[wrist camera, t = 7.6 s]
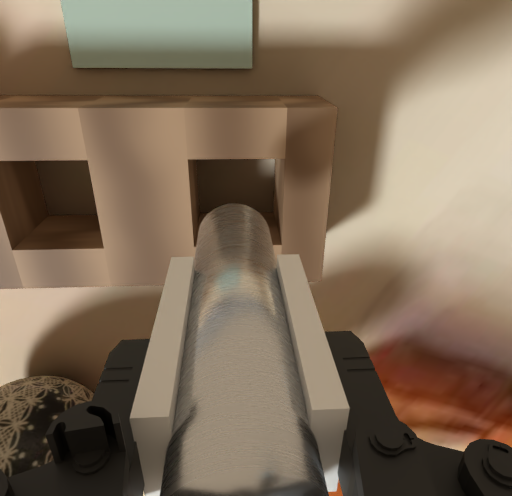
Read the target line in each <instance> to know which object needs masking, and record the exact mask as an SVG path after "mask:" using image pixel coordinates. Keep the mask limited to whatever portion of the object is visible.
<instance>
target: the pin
mask: <svg viewBox="0 0 512 496" xmlns="http://www.w3.org/2000/svg"><path fill="white" fill-rule="evenodd" d="M194 264H195V274H194V282H193V289H192V296H191V303H190V310H189V317H188V324H187V331H186V339H185V346H184V353H183V360H182V367H181V374H180V381H179V388H178V396H177V403H176V410H175V417H174V424H173V431H172V438H171V439H170V441H169V443H168V446H167V450H166V456H165V463H164V470H163V476H162V483H161V490H160V496H329V494H328V490H327V486H326V481H325V477H324V472H323V468H322V463H321V459H320V454H319V450H318V445H317V441H316V438H315V436H314V434H313V432H312V431H311V429H310V424H309V420H308V415H307V410H306V406H305V401H304V396H303V392H302V387H301V382H300V378H299V373H298V368H297V363H296V359H295V354H294V349H293V345H292V340H291V335H290V331H289V326H288V321H287V317H286V312H285V307H284V302H283V298H282V293H281V288H280V284H279V279H278V274H277V270H276V268H277V262H276V258H275V253H274V249H273V244H272V240H271V235H270V231H269V227H268V224H267V222H266V220H265V219H264V217H263V216H262V215H261V214H260V213H259V212H258V211H256V210H255V209H253V208H251V207H249V206H246V205H243V204H226V205H222V206H219V207H217V208H215V209H213V210H212V211H211V212H209V213H208V214H207V215H206V216H205V218H204V219H203V221H202V222H201V224H200V227H199V232H198V238H197V245H196V252H195V259H194Z"/></svg>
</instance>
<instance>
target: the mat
mask: <svg viewBox="0 0 512 496" xmlns="http://www.w3.org/2000/svg"><path fill="white" fill-rule="evenodd" d="M61 6H62V11H63V17H64V22H65V27H66V33H67V38H68V44H69V49H70V55H71V60H72V65H73V68H252V0H61Z"/></svg>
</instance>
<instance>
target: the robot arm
mask: <svg viewBox="0 0 512 496" xmlns="http://www.w3.org/2000/svg"><path fill="white" fill-rule="evenodd" d="M276 270H277V274H278V279H279V284H280V288H281V293H282V298H283V302H284V307H285V312H286V317H287V321H288V326H289V331H290V335H291V340H292V345H293V349H294V354H295V359H296V363H297V368H298V373H299V378H300V382H301V387H302V392H303V396H304V401H305V406H306V410H307V415H308V420H309V424H310V429H311V431H312V432H313V434H314V436H315V438H316V441H317V445H318V450H319V454H320V459H321V463H322V468H323V472H324V477H325V481H326V486H327V490H328V492H330V491H336V490H337V484H338V478H339V481H340V485H341V489H342V493H343V496H512V448H511V447H510V446H508V445H507V444H504V443H501V442H498V441H495V440H487V439H479V440H476V441H474V442H471V443H469V445H468V446H467V448H466V449H465V451H464V452H462V451H458V450H454V449H450V448H446V447H442V446H437V445H434V444H431V443H428V442H425V441H423V440H421V439H419V438H417V436H416V434H415V433H414V432H413V431H412V430H411V429H410V428H409V427H408V426H407V425H406V424H404V423H402V422H400V421H399V420H398V418H397V417H396V415H395V413H394V410H393V408H392V406H391V404H390V401H389V399H388V397H387V395H386V392H385V390H384V388H383V386H382V384H381V381H380V379H379V377H378V375H377V372H376V371H375V368H374V366H373V363H372V361H371V360H370V357H369V354H368V352H367V350H366V348H365V346H364V343H363V342H362V341H361V340H360V339H359V338H358V337H357V336H356V335H354V334H353V333H352V332H351V331H337V332H324V329H323V326H322V323H321V320H320V317H319V314H318V311H317V308H316V305H315V302H314V299H313V296H312V293H311V290H310V287H309V284H308V281H307V278H306V275H305V272H304V269H303V266H302V263H301V260H300V257H299V254H287V255H277V268H276ZM194 274H195V264H194V257H171V261H170V265H169V269H168V273H167V277H166V280H165V284H164V288H163V292H162V296H161V300H160V303H159V307H158V311H157V315H156V319H155V323H154V326H153V330H152V334H151V338H150V339H139V340H122V341H121V342H120V343H119V344H118V345H117V346H116V347H115V348H114V349H113V350H112V351H111V352H110V353H109V356H108V359H107V361H106V364H105V367H104V371H103V372H102V375H101V377H100V380H99V384H98V385H97V388H96V390H95V393H94V396H93V398H92V401H88V402H84V403H81V404H77V405H74V406H73V407H71V408H69V409H67V410H66V411H64V412H62V413H61V414H60V415H59V416H58V417H57V418H56V419H55V420H54V421H53V422H52V423H51V425H50V427H49V429H48V430H47V432H46V434H45V436H46V439H47V442H48V444H49V447H50V450H51V453H52V456H53V459H54V460H52V461H51V462H49V463H47V464H44V465H42V466H40V467H37V468H34V469H31V470H28V471H25V472H22V473H19V474H16V475H13V476H10V477H7V476H6V475H5V474H4V472H3V471H2V470H1V469H0V496H143V491H144V494H145V496H160V490H161V483H162V476H163V470H164V463H165V456H166V450H167V446H168V443H169V441H170V439H171V438H172V431H173V424H174V417H175V410H176V403H177V396H178V388H179V381H180V374H181V367H182V360H183V353H184V346H185V339H186V331H187V324H188V317H189V310H190V303H191V296H192V289H193V282H194Z"/></svg>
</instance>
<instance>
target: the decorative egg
mask: <svg viewBox="0 0 512 496" xmlns="http://www.w3.org/2000/svg"><path fill="white" fill-rule="evenodd" d="M93 396H94V393H93V392H91V391H90V390H89V389H88V388H86V387H85V386H83V385H81V384H79V383H77V382H75V381H73V380H70V379H67V378H63V377H58V376H34V377H28V378H24V379H19V380H16V381H13V382H10V383H8V384H5V385H3V386H1V387H0V469H1V470H2V471H3V472H4V474H5V475H6V476H7V477H10V476H13V475H16V474H19V473H22V472H25V471H28V470H31V469H34V468H37V467H40V466H42V465H44V464H47V463H49V462H51V461H52V460H54V459H53V456H52V453H51V450H50V447H49V444H48V442H47V439H46V436H45V434H46V432H47V430H48V429H49V427H50V425H51V423H52V422H53V421H54V420H55V419H56V418H57V417H58V416H59V415H60V414H61V413H62V412H64V411H66V410H67V409H69V408H71V407H73V406H74V405H77V404H81V403H84V402H88V401H92V398H93Z"/></svg>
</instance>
